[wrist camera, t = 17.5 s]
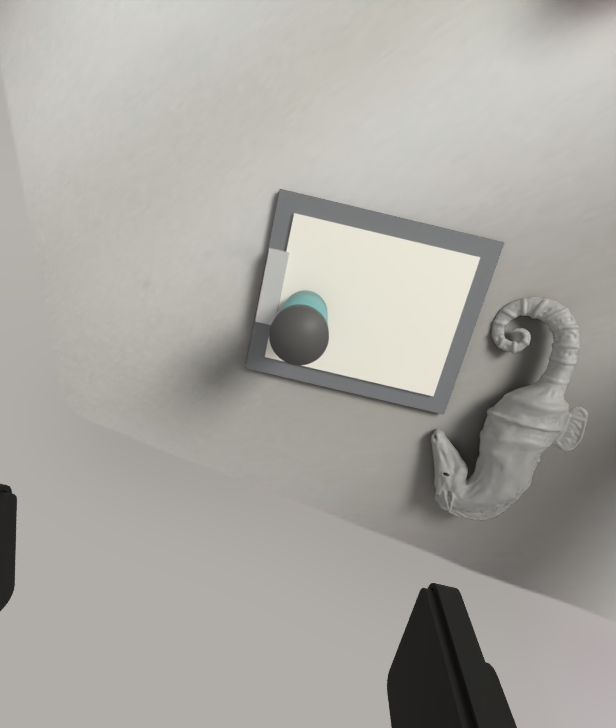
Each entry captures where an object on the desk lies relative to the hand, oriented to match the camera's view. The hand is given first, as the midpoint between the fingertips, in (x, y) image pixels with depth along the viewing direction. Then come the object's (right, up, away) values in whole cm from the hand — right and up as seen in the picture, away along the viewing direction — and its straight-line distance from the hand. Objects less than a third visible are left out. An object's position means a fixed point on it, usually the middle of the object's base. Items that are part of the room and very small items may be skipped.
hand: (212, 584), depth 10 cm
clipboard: (+7, +10, +26) cm, 29 cm away
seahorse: (+19, +1, +29) cm, 34 cm away
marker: (+2, +9, +26) cm, 27 cm away
